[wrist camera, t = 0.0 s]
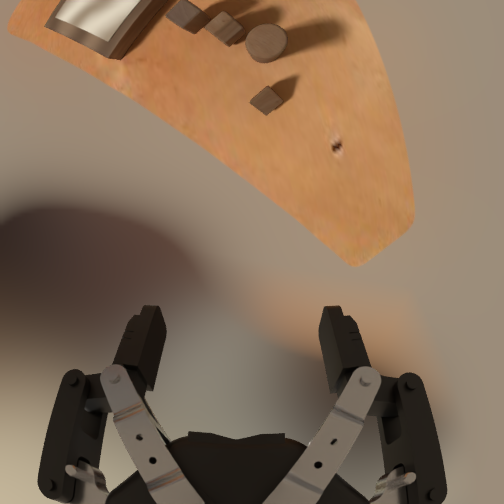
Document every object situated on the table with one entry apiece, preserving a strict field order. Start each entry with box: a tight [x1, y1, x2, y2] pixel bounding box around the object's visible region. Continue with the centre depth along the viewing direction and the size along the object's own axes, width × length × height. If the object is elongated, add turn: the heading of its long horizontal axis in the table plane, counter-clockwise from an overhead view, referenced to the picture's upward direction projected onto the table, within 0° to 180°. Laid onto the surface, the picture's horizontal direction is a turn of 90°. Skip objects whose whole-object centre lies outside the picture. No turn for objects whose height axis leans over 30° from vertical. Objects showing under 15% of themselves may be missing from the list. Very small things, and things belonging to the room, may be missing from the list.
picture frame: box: [44, 0, 168, 60], centre depth 20 cm, size 16×12×4 cm
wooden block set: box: [165, 0, 288, 115], centre depth 24 cm, size 18×9×10 cm, turn 44°
